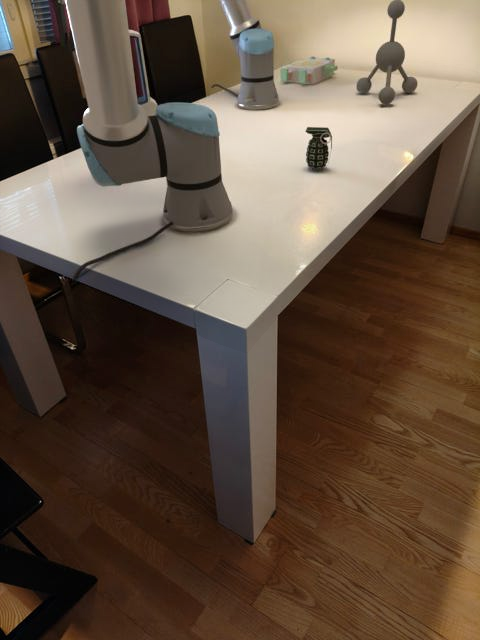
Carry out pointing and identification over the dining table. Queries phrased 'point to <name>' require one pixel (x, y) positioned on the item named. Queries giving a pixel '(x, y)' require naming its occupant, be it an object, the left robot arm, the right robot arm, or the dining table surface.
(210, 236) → the dining table surface
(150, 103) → the electronic device
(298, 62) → the decorative block
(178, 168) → the left robot arm
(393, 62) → the molecular model
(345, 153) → the dining table surface
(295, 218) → the dining table surface
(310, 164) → the grenade
